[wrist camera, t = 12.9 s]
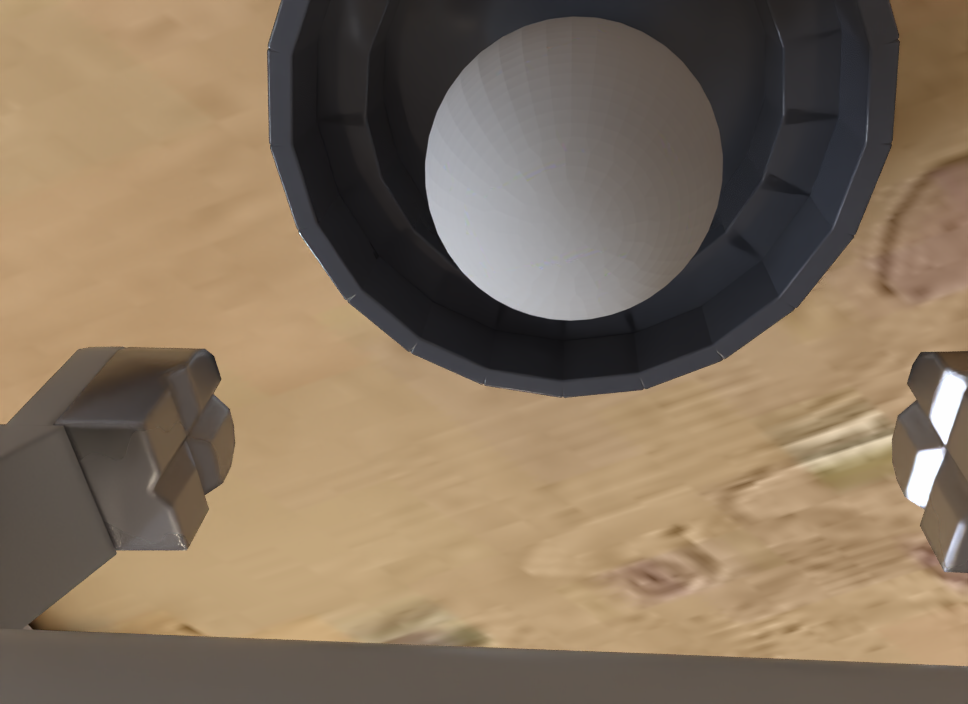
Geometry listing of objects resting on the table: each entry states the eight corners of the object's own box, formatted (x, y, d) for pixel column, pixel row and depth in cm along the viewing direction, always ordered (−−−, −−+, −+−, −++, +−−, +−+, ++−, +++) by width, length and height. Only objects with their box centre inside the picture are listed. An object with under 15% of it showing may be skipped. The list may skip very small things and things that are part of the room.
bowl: (263, 193, 25) (201, 261, 21) (441, -342, 18) (401, -402, 14) (653, 374, 27) (668, 468, 23) (953, -39, 20) (1054, -10, 16)
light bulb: (722, 108, 22) (814, 267, 14) (549, 227, 24) (536, 425, 16) (599, -83, 20) (617, -34, 11) (422, 68, 22) (329, 200, 14)
